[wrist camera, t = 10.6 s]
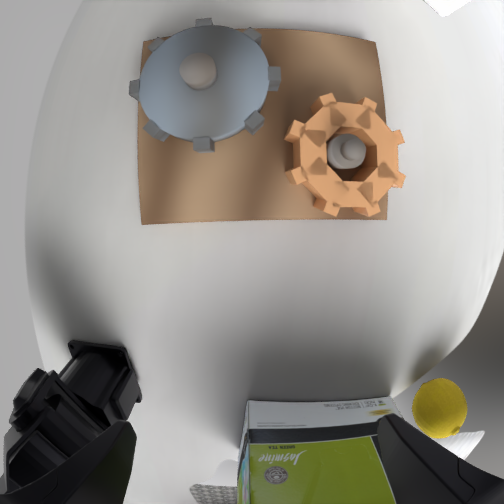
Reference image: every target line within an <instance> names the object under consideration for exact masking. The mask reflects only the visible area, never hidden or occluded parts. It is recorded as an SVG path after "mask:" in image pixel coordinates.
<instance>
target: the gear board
mask: <svg viewBox="0 0 504 504" xmlns="http://www.w3.org/2000/svg"><path fill="white" fill-rule="evenodd" d="M329 93H332V94H333V96H334V98H335V100H336V102H343V103H352V104H355V103H356V102H358V101H359V100H361V99H362V98H364V97H366V98H368V99H370V100H372V101H374V102H375V103H377V106H376V109H375V112H376V114H377V115H378V116H379V117H380V118H381V119H382V120H383V122H384V123H385V124H386V115H385V104H384V95H383V86H382V79H381V72H380V65H379V59H378V53H377V48H376V43H375V42H373V41H368V40H364V39H359V38H354V37H348V36H343V35H336V34H330V33H322V32H314V31H304V30H290V29H253V28H251V27H249V28H248V29H232V28H229V27H224V26H216V25H213V24H212V20H211V18H205V19H197V20H196V27H193V28H190V29H186V30H184V31H181V32H179V33H177V34H175V35H173V36H169V37H163V38H159V37H157V38H156V39H153V40H149V41H144V42H143V50H142V60H141V71H140V79H138V80H134V81H130V86H129V95H130V96H132V97H133V98H135V99H136V100H138V101H139V102H138V178H139V197H140V211H141V223H142V225H148V224H167V223H188V222H212V221H244V220H298V219H360V220H387V201H388V191H387V192H386V193H385V195H384V196H383V197H382V198H381V199H380V200H379V201H378V205H379V208H380V211H381V212H379V213H377V214H375V215H372V216H370V217H368V216H365V215H362V214H360V213H357V212H354V210H353V207H340V209H339V212H338V214H337V216H336V217H335V216H333V215H331V214H328V213H326V212H324V211H321V210H319V209H317V208H315V207H313V206H314V203H315V201H316V197H315V196H314V195H313V194H312V193H311V192H310V191H309V190H308V189H307V188H306V187H305V186H304V185H303V184H302V183H300V184H298V185H295V184H290V182H289V180H288V178H287V176H286V173H285V171H288V170H290V169H293V168H294V167H293V143H291V142H289V141H286V140H284V138H285V135H286V132H287V130H288V128H289V126H290V125H291V124H292V122H293V121H294V120H296V121H299V122H301V123H304V124H305V123H306V122H307V121H309V120H310V119H311V118H312V117H313V116H314V115H313V113H312V111H311V109H310V107H311V105H312V104H313V103H314V102H315V101H316V100H317V99H318V97H320V96H323V95H326V94H329ZM326 151H327V165H328V166H329V167H330V168H331V169H332V170H333V171H334V172H335V173H336V174H337V175H338V176H339V177H340V178H341V180H342V181H349V180H350V179H351V178H352V177H353V176H354V175H355V174H356V173H357V172H358V171H359V170H360V169H361V163H362V162H363V161H364V158H365V154H366V146H365V144H364V143H363V142H362V141H361V140H360V139H359V138H358V137H357V136H355V135H353V134H338V133H334V134H333V135H332V136H331V137H330V138H329V139H328V140H327V141H326Z"/></svg>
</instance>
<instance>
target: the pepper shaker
mask: <svg viewBox="0 0 504 504" xmlns="http://www.w3.org/2000/svg"><path fill="white" fill-rule="evenodd" d="M424 1H425V2H426V3H427V4H428V5H429V6H431V7H432V8H433V9H434V10H435V11H436V12H437V13H438V14H439V15H441V16H448V15H449V14H451V13H452V12H454V11H455V10H457V9H458V8H460V7H461V6H463V5H465V4H466V3H468V2H470V1H471V0H424Z"/></svg>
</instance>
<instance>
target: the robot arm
mask: <svg viewBox="0 0 504 504" xmlns="http://www.w3.org/2000/svg"><path fill="white" fill-rule="evenodd" d="M68 347H69V350H70V353H71V355H72V359H71V360H70V361H69V362H68V364H67V365H66V366H65V367H64V368H63V370H62V371H61V372H60V373H59V374H57V373H56V372H55V371H54V370H52V371H50V372H48V373H47V372H46V371H43V370H41V369H39V368H37V369H36V370H35V371H34V372H33V373H32V374H31V375H30V376H29V378H28V379H27V380H26V381H25V382H24V384H23V385H22V387H21V388H20V390H19V391H18V393H17V395H16V397H15V398H14V400H13V404H14V409H13V411H12V414H11V416H10V419H9V423H10V424H11V425H12V427H11V428H10V429H9V431H8V432H7V433H6V434H5V437H4V473H3V475H2V476H1V478H0V504H123V501H124V497H125V494H126V490H127V486H128V483H129V479H130V475H131V471H132V465H133V459H134V452H135V446H136V440H137V437H136V433H135V431H134V429H133V427H132V425H131V423H130V422H128V421H126V420H127V419H128V417H129V415H130V413H131V411H132V408H133V406H134V404H135V402H136V403H140V402H141V400H142V396H141V393H140V388H139V385H138V382H137V379H136V376H135V373H134V371H133V369H132V367H131V364H130V360H129V357H128V354H127V351H126V350H125V349H124V348H123V347H117V346H108V345H101V344H93V343H87V342H80V341H74V340H71V341H70V342H69V343H68ZM120 352H121V353H122V354H121V353H120ZM377 435H378V440H379V444H380V449H381V454H382V459H383V463H384V467H385V470H386V473H387V476H388V479H389V482H390V485H391V488H392V492H393V495H394V498H395V501H396V504H504V479H502V478H499V477H497V476H494V475H491V474H490V473H487V472H485V471H483V470H481V469H479V468H477V467H475V466H473V465H471V464H469V463H467V462H466V461H464V460H463V459H461V458H460V457H459V458H458V456H456V455H455V454H453V453H452V452H450V451H449V450H447V449H446V448H444V447H443V446H441V445H440V444H438V443H437V442H435V441H434V440H432V439H431V438H429V437H428V436H426V435H425V434H423V433H422V432H420V431H419V430H418V429H416V428H415V427H413V426H412V425H411V424H409V423H408V422H406V421H405V420H403V419H402V418H401V417H399V416H398V415H396V414H395V413H390V414H386V415H384V416H383V417H382V419H381V421H380V424H379V426H378V428H377Z"/></svg>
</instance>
